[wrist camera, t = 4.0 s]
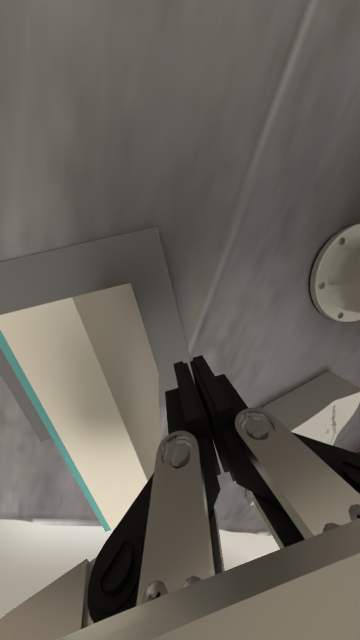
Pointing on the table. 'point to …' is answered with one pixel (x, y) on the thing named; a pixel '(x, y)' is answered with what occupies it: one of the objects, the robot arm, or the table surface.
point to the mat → (93, 275)
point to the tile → (92, 390)
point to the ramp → (316, 408)
